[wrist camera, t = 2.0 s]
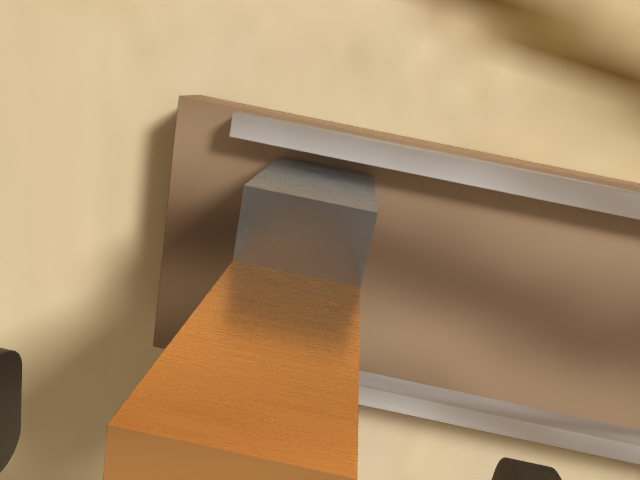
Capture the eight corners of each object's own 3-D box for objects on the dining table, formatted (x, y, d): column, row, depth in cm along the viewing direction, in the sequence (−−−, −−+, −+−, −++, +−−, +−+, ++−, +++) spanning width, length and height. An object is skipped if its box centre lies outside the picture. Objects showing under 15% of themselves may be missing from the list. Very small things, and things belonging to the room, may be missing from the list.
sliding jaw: (279, 156, 16) (117, 284, 5) (373, 175, 16) (392, 343, 5) (249, 341, 18) (86, 699, 7) (332, 359, 18) (287, 745, 7)
